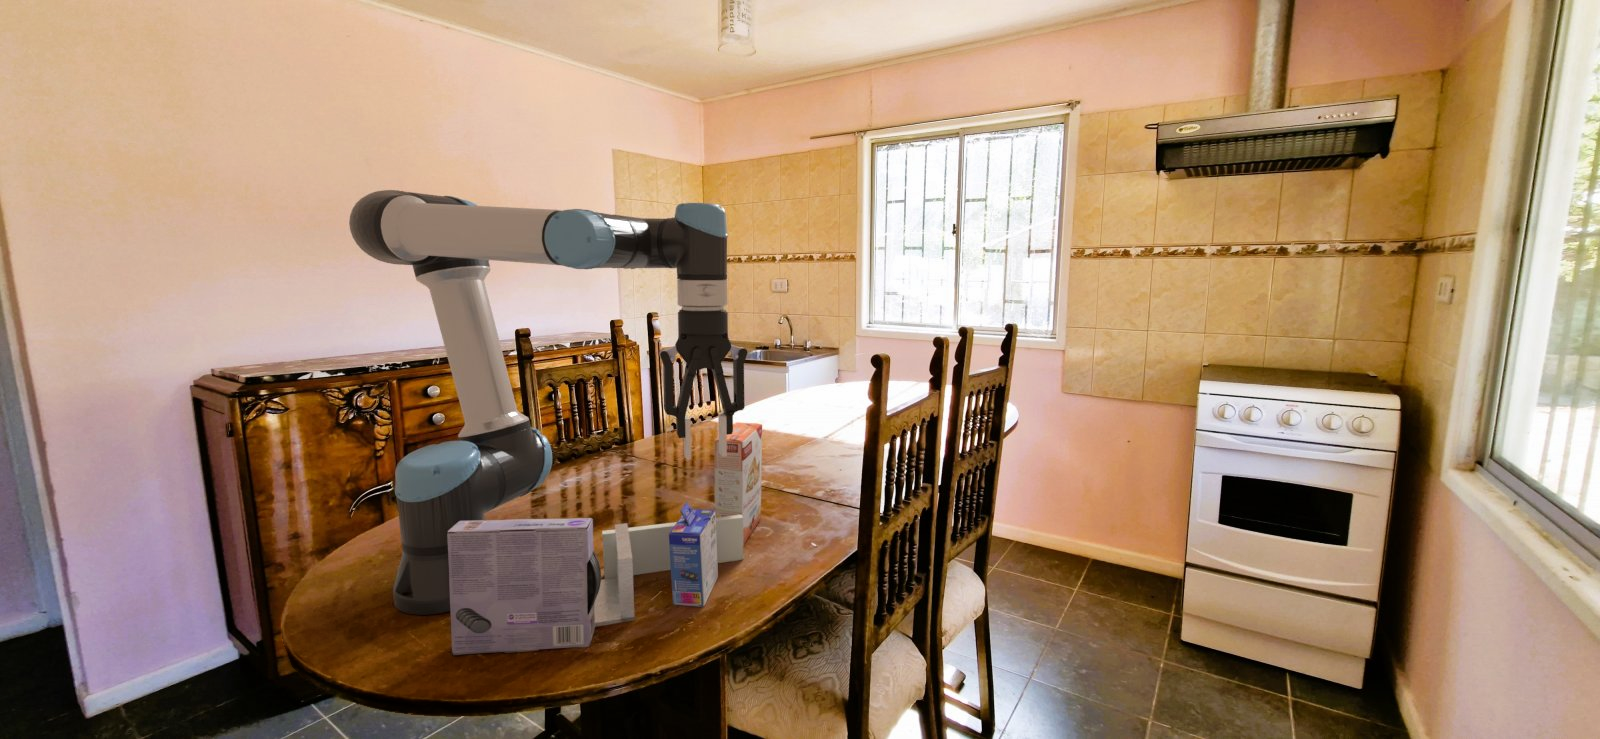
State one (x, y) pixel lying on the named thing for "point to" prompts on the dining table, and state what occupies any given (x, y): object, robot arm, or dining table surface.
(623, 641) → the dining table surface
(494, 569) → the cake pan box
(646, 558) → the back wall
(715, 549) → the ink cartridge box
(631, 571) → the bookend
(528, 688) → the dining table surface
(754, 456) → the cracker box
